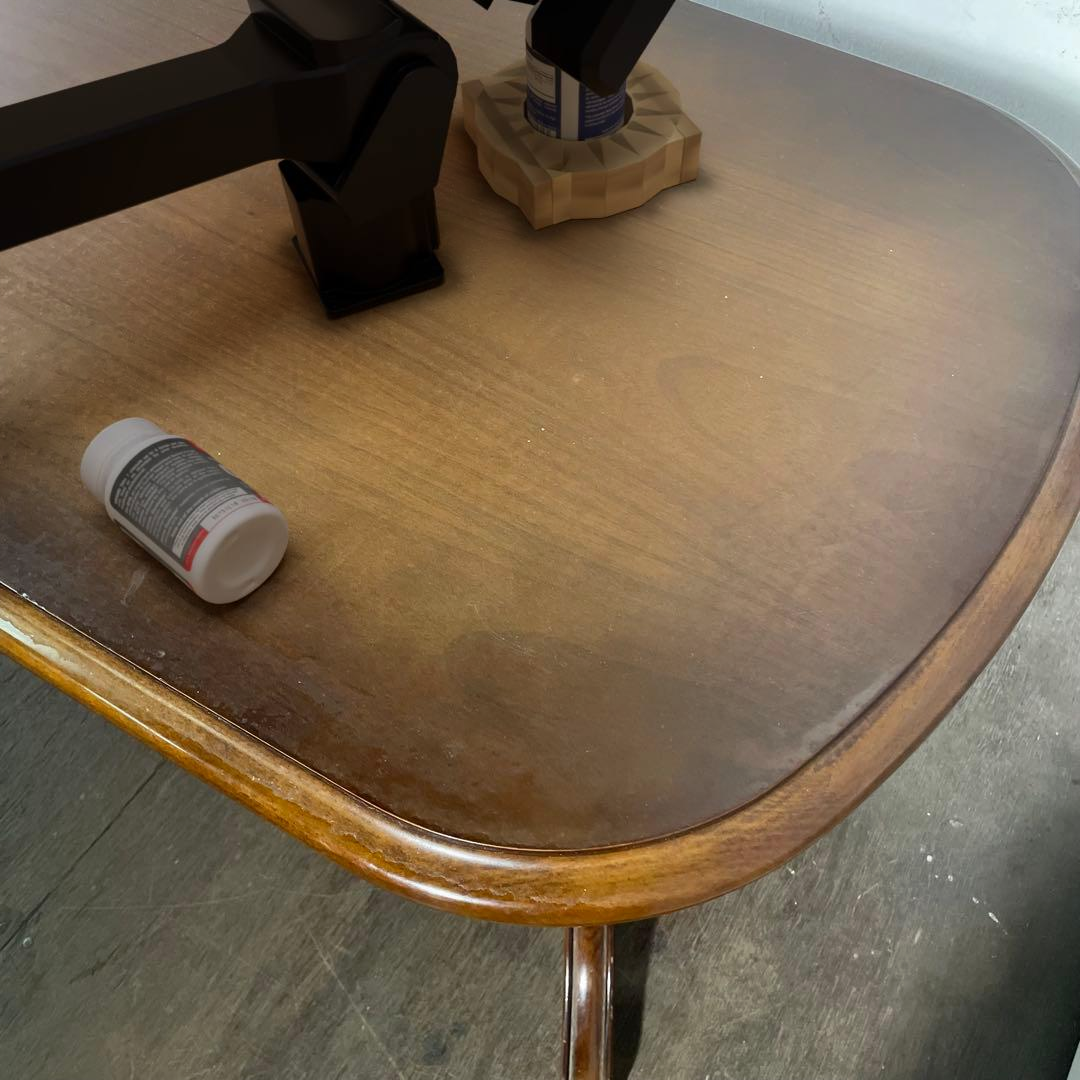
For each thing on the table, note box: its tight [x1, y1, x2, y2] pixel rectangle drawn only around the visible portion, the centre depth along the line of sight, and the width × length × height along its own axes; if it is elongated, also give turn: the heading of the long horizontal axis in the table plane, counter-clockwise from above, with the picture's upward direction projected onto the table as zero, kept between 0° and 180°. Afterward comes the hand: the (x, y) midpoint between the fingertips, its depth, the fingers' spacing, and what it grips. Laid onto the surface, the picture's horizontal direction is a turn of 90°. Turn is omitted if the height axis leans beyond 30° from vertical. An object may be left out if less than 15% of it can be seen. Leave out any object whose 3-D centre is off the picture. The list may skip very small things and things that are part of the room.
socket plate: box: [460, 56, 703, 231], centre depth 60 cm, size 11×11×3 cm
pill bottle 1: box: [79, 417, 290, 605], centre depth 44 cm, size 5×5×8 cm
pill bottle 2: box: [524, 0, 626, 141], centre depth 56 cm, size 5×5×10 cm
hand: (597, 21), depth 55 cm, fingers closed on pill bottle 2, 5 cm apart
